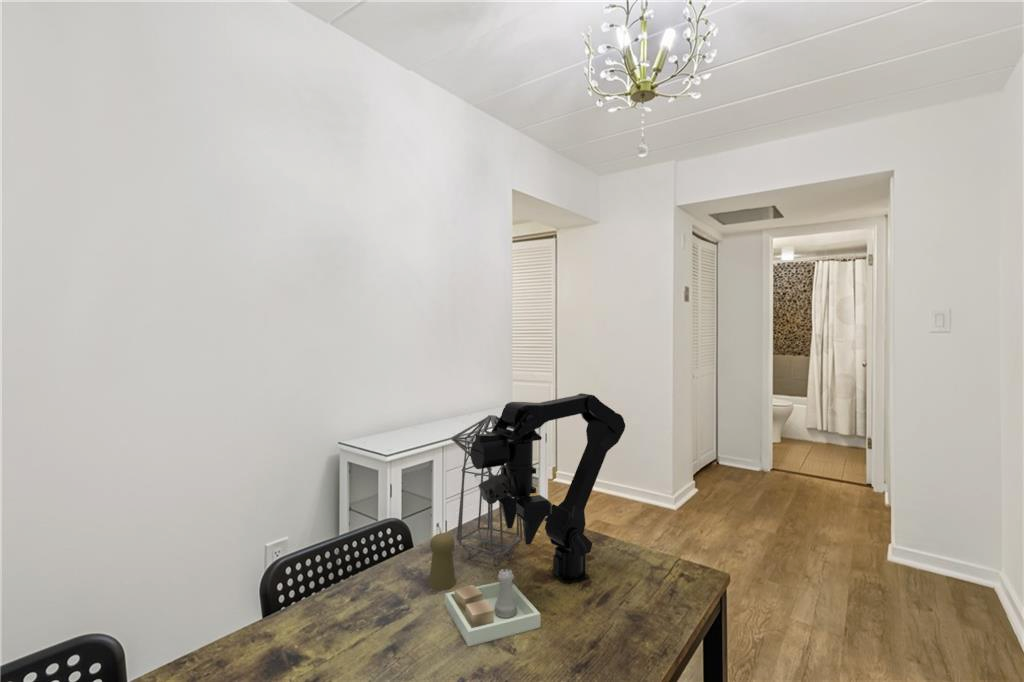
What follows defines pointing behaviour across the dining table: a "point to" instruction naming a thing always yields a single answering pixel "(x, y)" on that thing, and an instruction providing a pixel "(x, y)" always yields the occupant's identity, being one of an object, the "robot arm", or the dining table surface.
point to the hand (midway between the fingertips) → (518, 535)
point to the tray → (495, 617)
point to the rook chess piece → (505, 595)
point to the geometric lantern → (456, 439)
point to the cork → (442, 562)
